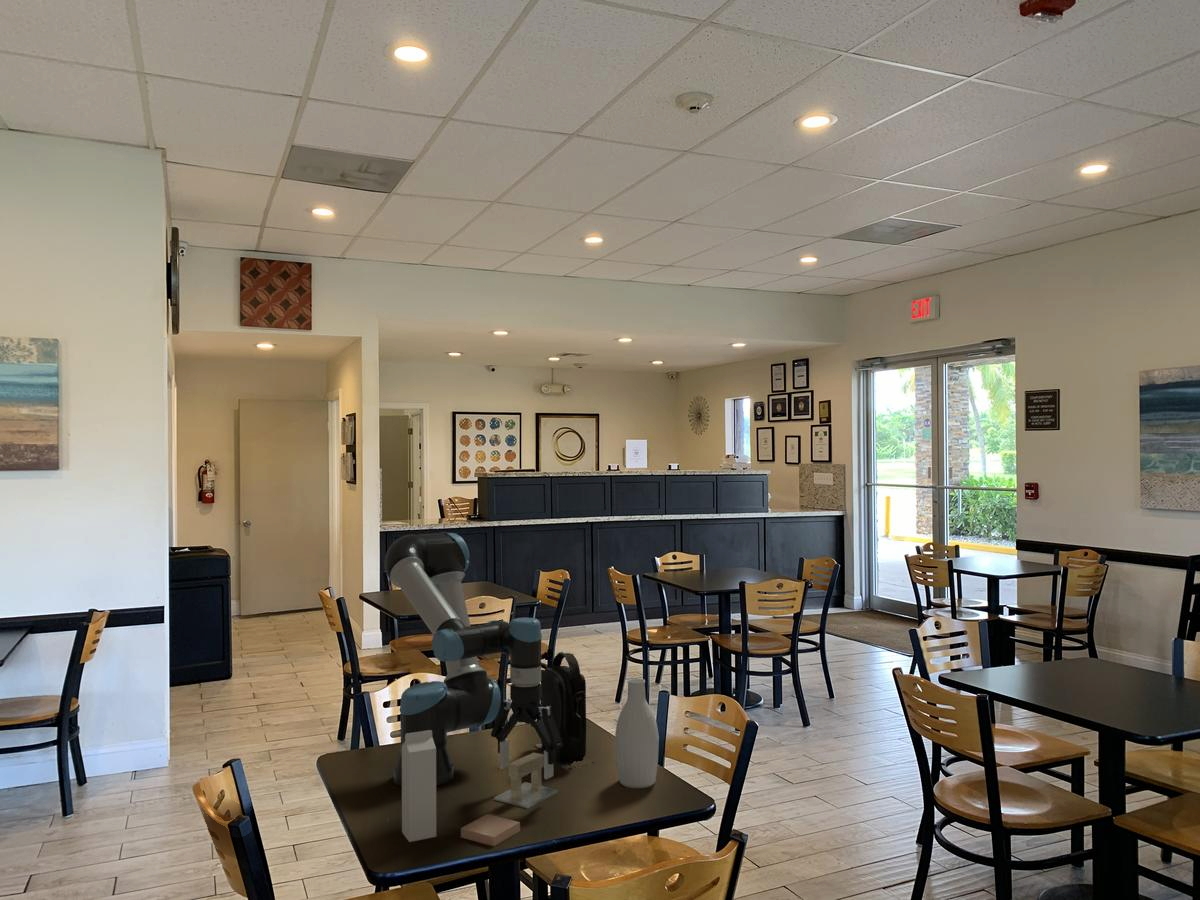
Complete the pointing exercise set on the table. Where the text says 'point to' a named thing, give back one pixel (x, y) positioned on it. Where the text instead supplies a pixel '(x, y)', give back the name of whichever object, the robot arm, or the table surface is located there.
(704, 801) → the table surface
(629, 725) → the bottle
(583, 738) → the shoulder bag
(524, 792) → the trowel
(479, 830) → the tile
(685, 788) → the table surface
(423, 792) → the milk
